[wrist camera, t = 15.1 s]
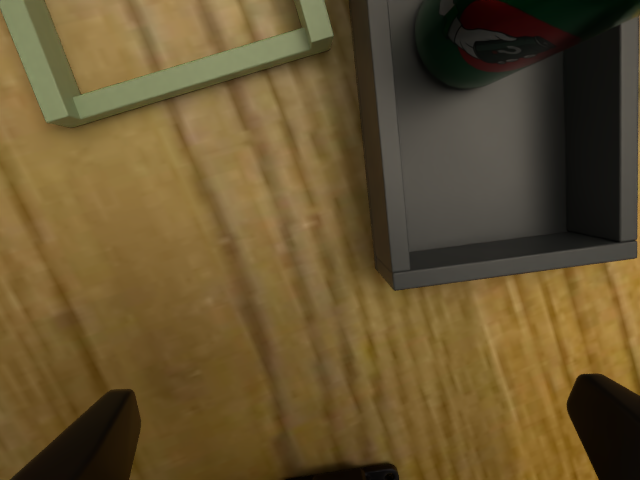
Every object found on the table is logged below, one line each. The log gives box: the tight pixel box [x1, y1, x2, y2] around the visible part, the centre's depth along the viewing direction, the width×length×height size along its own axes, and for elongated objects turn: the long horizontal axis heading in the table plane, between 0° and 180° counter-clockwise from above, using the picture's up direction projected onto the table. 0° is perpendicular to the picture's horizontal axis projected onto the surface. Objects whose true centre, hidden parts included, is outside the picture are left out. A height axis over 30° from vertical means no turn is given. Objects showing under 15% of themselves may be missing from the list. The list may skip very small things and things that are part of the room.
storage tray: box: [349, 0, 639, 291], centre depth 18 cm, size 16×11×4 cm
